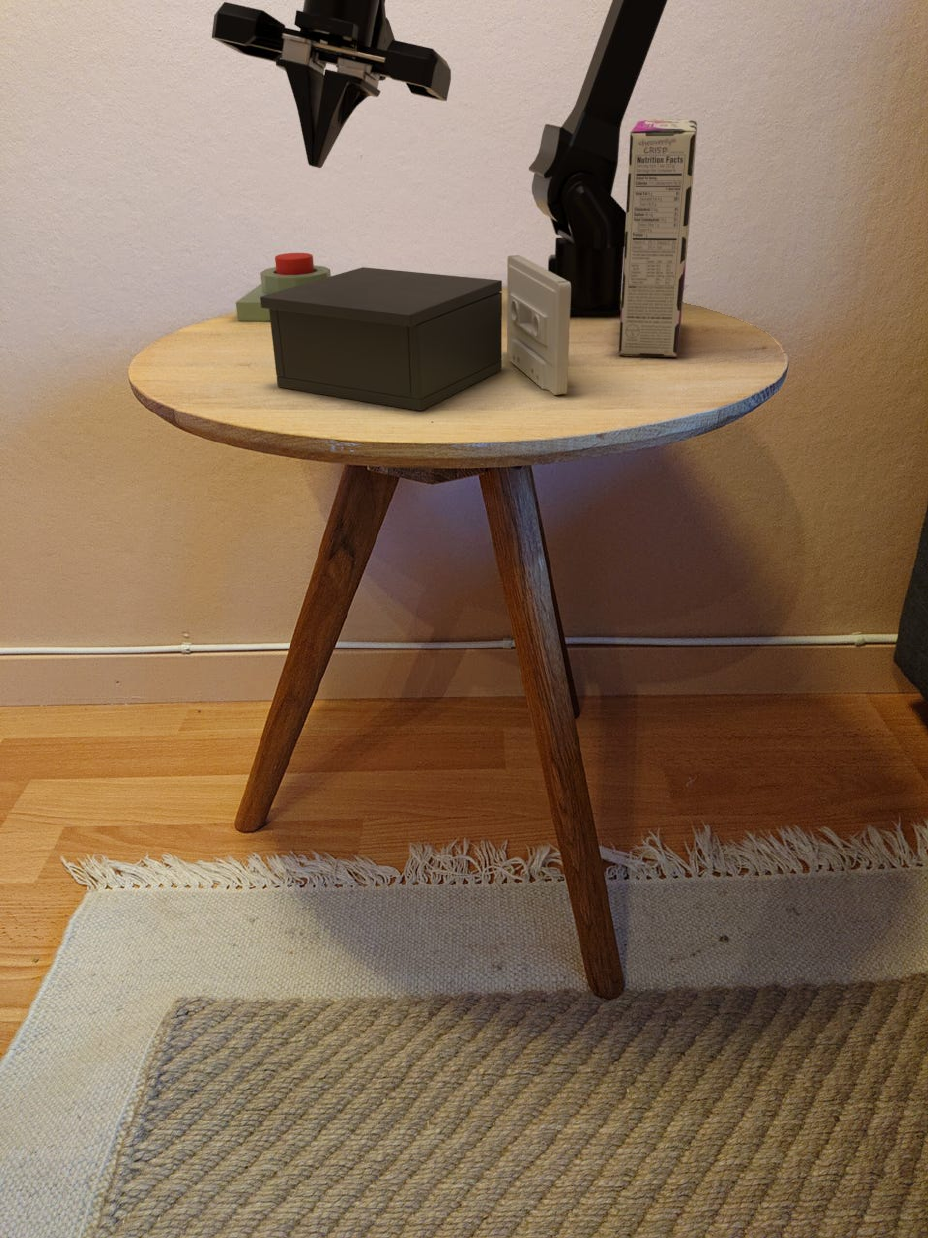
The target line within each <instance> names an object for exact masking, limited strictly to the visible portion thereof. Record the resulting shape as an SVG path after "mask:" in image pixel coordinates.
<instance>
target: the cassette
mask: <svg viewBox="0 0 928 1238" xmlns="http://www.w3.org/2000/svg"><path fill="white" fill-rule="evenodd" d="M506 260H507V262H506V263H507V265H506V266H507V267H506V268H507V271H506V272H507V273H506V274H507V275H506V276H507V279H506V280H507V282H506V284H507V285H506V287H507V288H506V293H507V294H506V299H507V300H506V302H507V303H506V304H507V305H506V308H507V309H506V354H507V357H509V360H508V361H509V362H511V364H512V365H514V366H515V367H516V368H517V369H519V370H520V371H521V373H523V374H524V375H526V377H528V378H529V379H530V380H531V381H532V382H534V383H535V384H536V385H537V386H538V387H540V388H541V389H542V390H547V391H549V392H550V393H551V394H553V395H554V396H558V395H566V394H567V393H568V383H569V382H568V380H569V355H570V327H571V325H570V324H571V315H570V303H571V283H570V282H569V281H567V280H565V279H563V278H561V277H559V276H557V275H555V274H554V273H552V272H550V271H548V269H546V268H545V267H543V266H541V265H539V264H536V263H535V262H533V261H532V260H529V259H527V258H526V257H524V256H522V255H520V254H516V255H513V254H512V255H507V259H506Z"/></svg>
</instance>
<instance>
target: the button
mask: <svg viewBox="0 0 928 1238" xmlns="http://www.w3.org/2000/svg"><path fill="white" fill-rule="evenodd" d="M274 261H275V267H276V273H277V274H281V275H301V274H309V273H313V272H314V265H315V264H314V263H315V262H314V256H313V253H309V252H308V253H307V252H287V253H286V252H285V253H281V254H277V255H275V256H274Z"/></svg>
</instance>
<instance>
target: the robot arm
mask: <svg viewBox="0 0 928 1238" xmlns="http://www.w3.org/2000/svg"><path fill="white" fill-rule="evenodd" d="M303 1H304V2H303V7H302V10H299V9H296V10H295V16H294V23H293V25H294V26H295V27H297V28H298V29H299V30H297V29H293V28H288V27H286V24H284V23H283V22H281V21H280V20H278V19H277V18H275V17H274V16H272V15H270V13H268V12H266V11H265V10H263V9H259V8H253V7H250V6H244V5H240V4H236V3H232V2H229V1H228V2H226V1H224V2H223V3H222V4H221V5H220V7H219V8H218V9H217V11H216V12H215V14H214V15H213V23H212V30H211V39H213V40H215V41H217V42H219V43H221V44H222V45H224V46H226V47H228V48H230V49H231V50H233V51H234V52H237V53H239V54H242V55H245V56H248V57H252V58H256V59H261V60H266V61H269V62H274V63H275V66H276V67H277V68H279V69H281V70H282V71H285V73H286V76H287V80H288V83H289V86H290V89H291V93H292V94H293V95H292V96H293V99H294V102H295V106H296V110H297V115H298V118H299V125H300V130H301V134H302V135H301V136H302V139H303V145H304V149H305V154H306V160H307V164H308V165H309V166H310V167H312V168H313V167H314V168H318V169H321V168H322V167H323V166H324V165H325V162H326V161H327V159H328V157H329V155H330V154H331V153H330V152H331V151H332V149H333V147H334V146H335V143H336V141H337V140H338V137H339V136H340V134H341V132H342V130H343V128H344V127H345V124H346V123H347V121H348V120H349V118H350V117H351V115H352V114H353V112H354V111H355V110H356V108H357V107H358V106H359V105H361V103H362V102H364V100H366V99H367V98H369V97H374V98H378V97H379V95H380V94H381V91H382V90H380V89H379V88H378V87H379V83H380V82H382V81H385V80H386V79H387V78H388V79H391V80H393V81H397V82H401V83H405V85H406V86H407V88H408V90H409V91H410V93H411V94H412V95H414V96H420V97H423V98H428V99H432V100H435V101H436V100H437V101H442V102H447V100H448V97H449V92H450V87H451V82H452V70H451V68H450V66H449V63H448V62H447V61H446V60H445V58H443V57H442V56H441V55H440V54H439V53H438V52H437V51H436V50H435V49H434V48H431V47H426V46H422V45H418V44H413V43H410V42H405V41H401V40H396V38H395V35H394V32H393V30H392V29H393V28H392V25H391V23H390V21H389V19H388V17H387V15H386V0H303ZM667 3H668V0H612V1H611V4H610V6H609V9H608V12H607V14H606V18H605V20H604V23H603V26H602V29H601V32H600V34H599V38H598V40H597V42H596V45H595V49H594V51H593V54H592V57H591V60H590V63H589V66H588V69H587V72H586V74H585V77H584V80H583V82H582V85H581V87H580V91H579V94H578V96H577V99H576V102H575V104H574V107H573V109H572V110H571V112H570V113H569V115H568V116H567V118H566V119H565V121H564V122H563V124H562V125H561V126H558V125H554V124H550V123H546V124H544V127H543V131H542V134H541V140H540V145H539V149H538V153H537V155H536V156H535V159H534V160H533V162H532V163H531V164H530V166H528V171H529V172H530V173H533V178H532V183H531V194H532V197H533V200H534V202H535V204H536V207H537V208H538V209H539V210H540V211H541V213H542V214H543V215H545V216H547V217H548V218H550V223H551V225H552V229H553V232H554V234H555V235H556V236H560V237H555V241H554V242H555V244H554V245H555V246H554V247H555V248H554V254H550V255H549V256H548V262H547V263H548V265H547V270H548V271H550V272H552V273H554V274H555V275H557V276H559V277H561V278H563V279H565V280H567V281H569V282H570V283H571V303H570V316H621V301H622V283H623V263H624V245H625V227H626V210H625V209H624V208H623V207H622V206H621V205H620V204H619V203H618V202H617V201H616V199H615V198H614V197H613V196H612V193H613V192H612V191H613V189H614V183H615V179H616V174H617V171H618V165H619V151H620V137H621V127H622V122H623V120H624V117H625V114H626V112H627V109H628V106H629V104H630V101H631V99H632V96H633V93H634V90H635V88H636V86H637V82H638V80H639V78H640V74H641V72H642V69H643V66H644V64H645V62H646V59H647V56H648V54H649V51H650V48H651V45H652V43H653V40H654V38H655V35H656V32H657V29H658V27H659V25H660V22H661V20H662V16H663V14H664V11H665V8H666V5H667ZM327 64H328V65H332V66H335V68H337V69H336V71H335V70H331V69H327Z"/></svg>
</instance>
